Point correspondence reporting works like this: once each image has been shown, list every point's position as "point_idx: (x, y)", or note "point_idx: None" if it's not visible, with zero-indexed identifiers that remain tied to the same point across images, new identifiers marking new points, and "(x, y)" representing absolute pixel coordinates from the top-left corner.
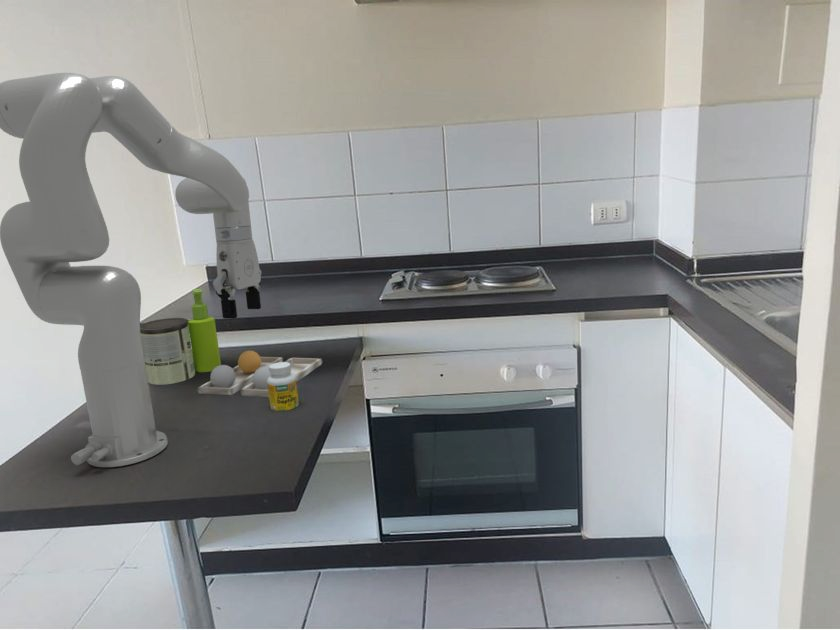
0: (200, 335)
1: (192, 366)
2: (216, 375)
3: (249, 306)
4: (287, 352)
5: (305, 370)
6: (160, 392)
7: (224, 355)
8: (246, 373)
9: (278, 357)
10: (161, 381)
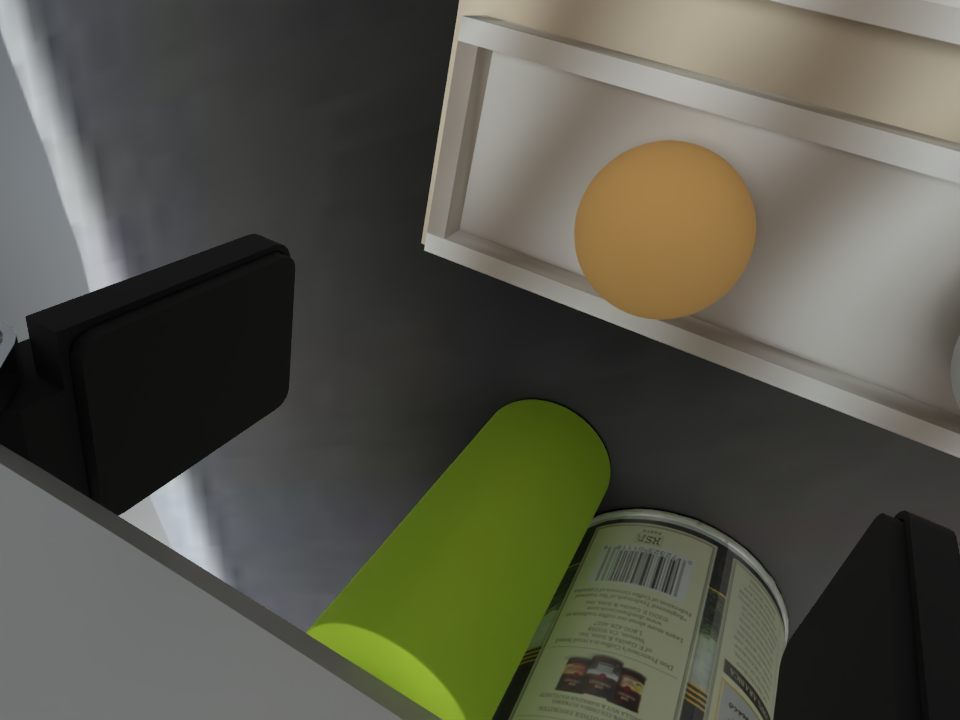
0: (515, 646)
1: (649, 571)
2: None
3: (267, 387)
4: (207, 91)
5: None
6: None
7: (272, 419)
8: None
9: (461, 54)
10: None
